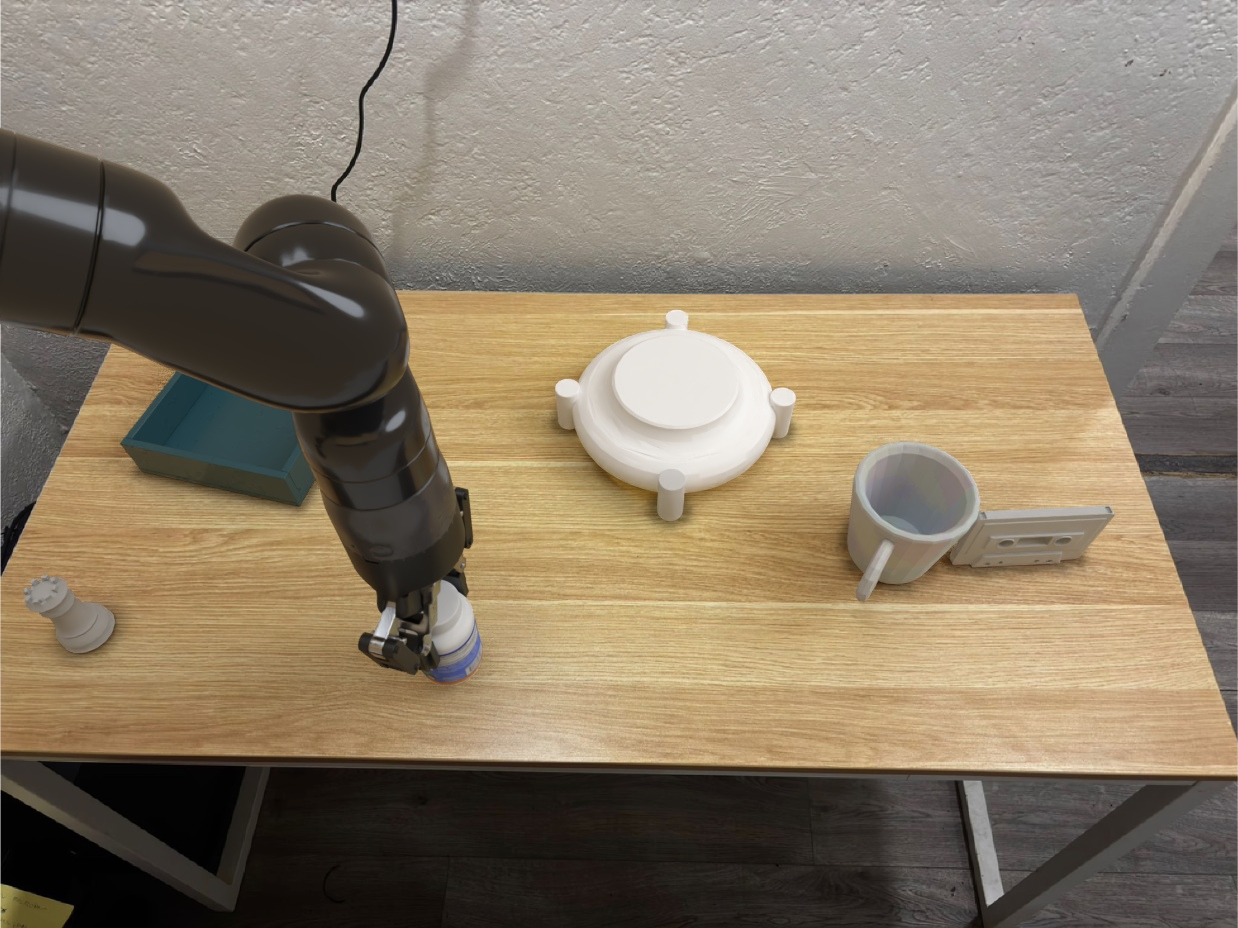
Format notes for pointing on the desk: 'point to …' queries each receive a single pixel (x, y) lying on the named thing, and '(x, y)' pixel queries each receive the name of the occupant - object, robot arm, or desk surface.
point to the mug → (907, 512)
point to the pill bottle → (454, 639)
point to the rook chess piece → (70, 614)
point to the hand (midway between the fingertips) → (440, 627)
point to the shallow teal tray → (220, 442)
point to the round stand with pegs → (674, 411)
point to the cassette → (1030, 536)
